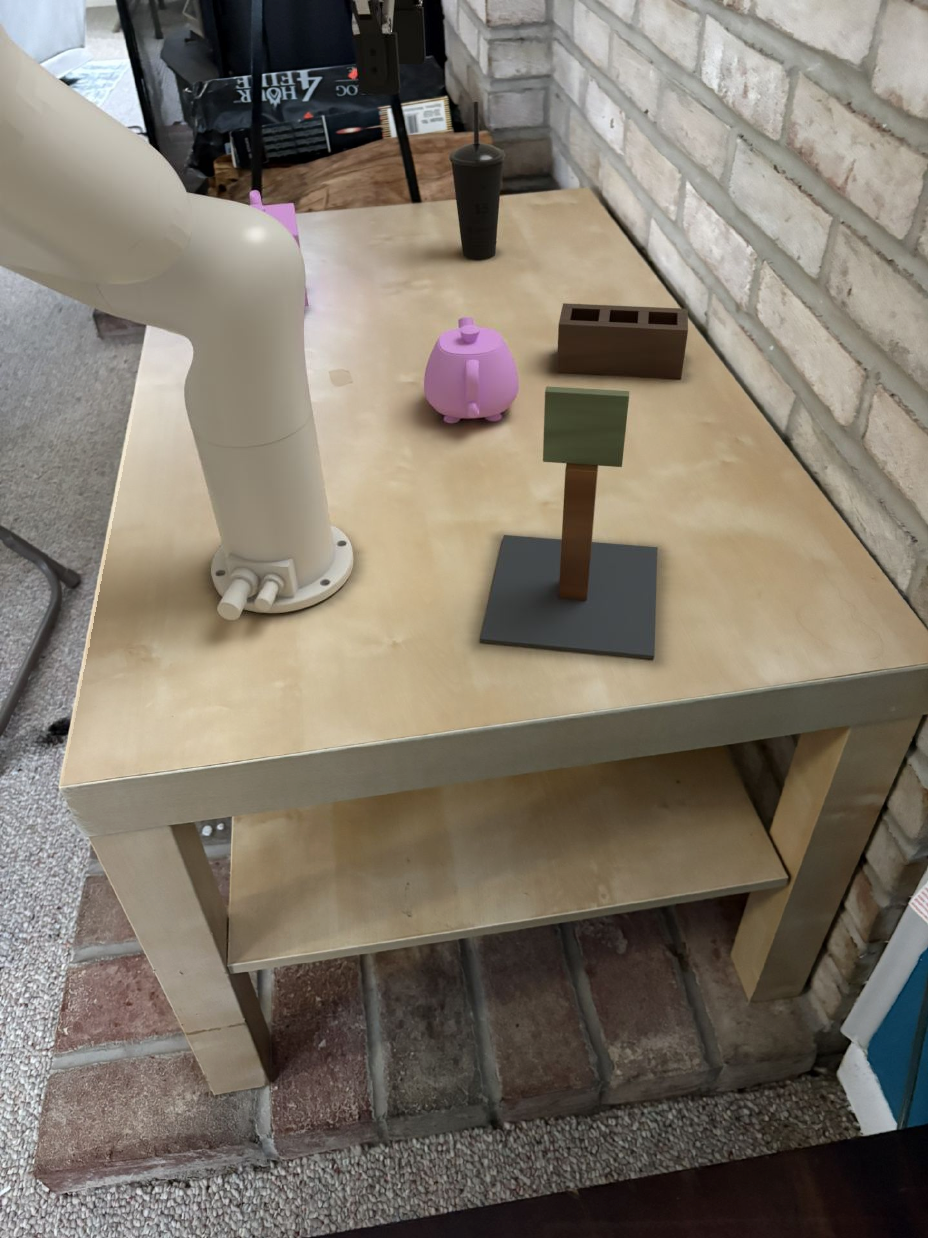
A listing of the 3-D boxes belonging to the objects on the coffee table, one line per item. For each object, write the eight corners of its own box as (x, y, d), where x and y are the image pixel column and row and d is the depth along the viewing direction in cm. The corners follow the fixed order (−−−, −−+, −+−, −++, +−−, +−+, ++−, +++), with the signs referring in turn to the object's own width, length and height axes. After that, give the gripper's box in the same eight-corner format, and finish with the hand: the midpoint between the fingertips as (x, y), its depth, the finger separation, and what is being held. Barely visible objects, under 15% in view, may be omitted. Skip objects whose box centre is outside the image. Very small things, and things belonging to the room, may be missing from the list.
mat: (653, 659, 73) (654, 655, 73) (480, 642, 75) (480, 638, 75) (656, 550, 83) (657, 546, 83) (503, 537, 85) (503, 534, 85)
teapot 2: (426, 440, 98) (420, 359, 92) (424, 373, 109) (419, 296, 103) (523, 436, 98) (524, 355, 92) (512, 368, 109) (512, 292, 103)
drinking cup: (444, 249, 137) (437, 99, 123) (490, 240, 139) (489, 91, 125) (466, 267, 132) (461, 112, 118) (513, 257, 134) (514, 104, 120)
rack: (681, 379, 106) (688, 329, 102) (556, 372, 108) (558, 323, 104) (681, 356, 110) (687, 308, 106) (560, 350, 112) (563, 302, 108)
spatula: (608, 603, 78) (628, 401, 65) (537, 596, 78) (543, 396, 66) (609, 584, 79) (630, 385, 66) (540, 578, 80) (547, 380, 67)
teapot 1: (311, 325, 119) (296, 226, 111) (232, 333, 118) (211, 234, 110) (303, 266, 134) (289, 174, 125) (232, 273, 133) (214, 181, 124)
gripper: (353, -208, 69) (374, 52, 81) (281, -202, 57) (319, 106, 69) (450, -212, 68) (458, 53, 80) (399, -206, 56) (417, 107, 68)
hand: (394, 77), depth 74 cm, fingers open, 9 cm apart
